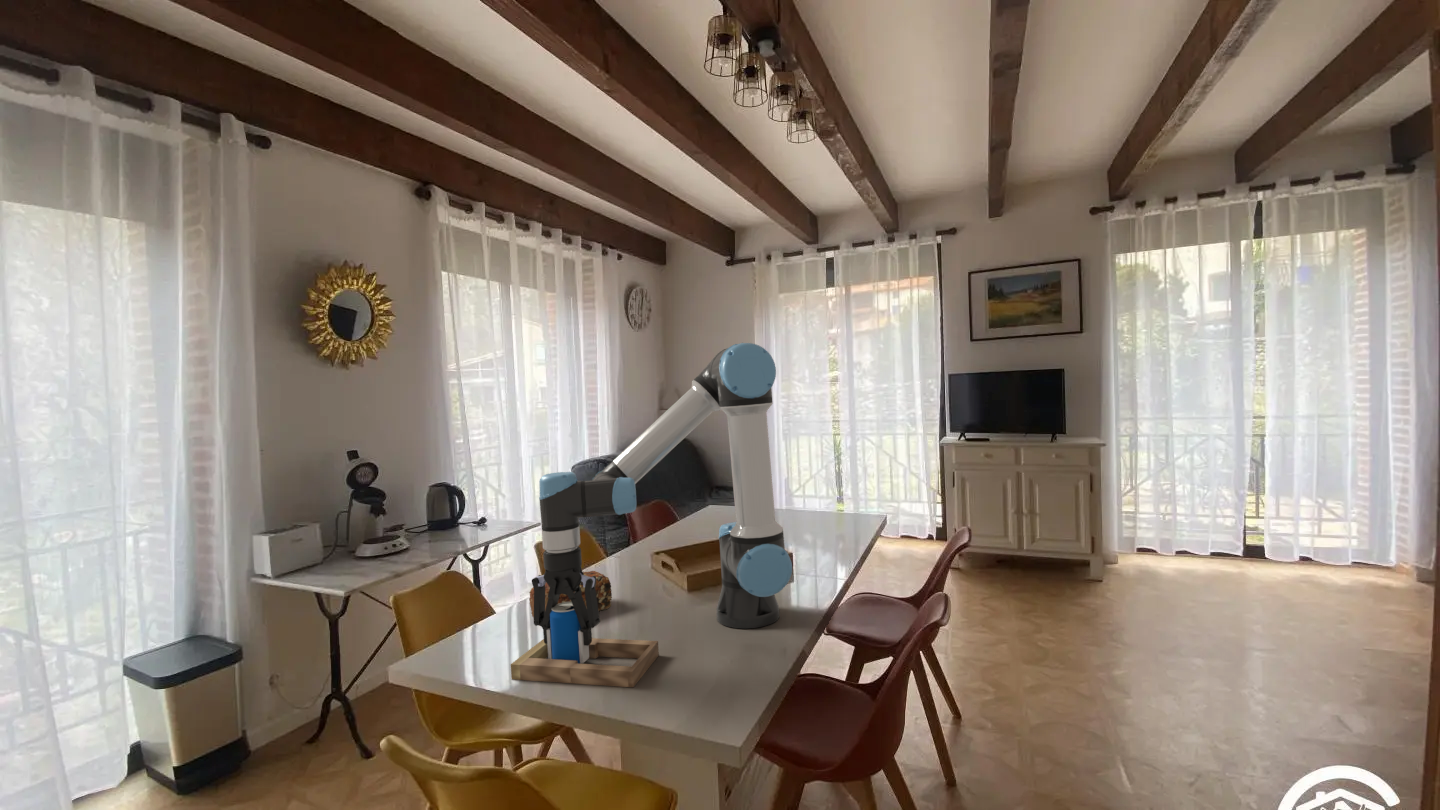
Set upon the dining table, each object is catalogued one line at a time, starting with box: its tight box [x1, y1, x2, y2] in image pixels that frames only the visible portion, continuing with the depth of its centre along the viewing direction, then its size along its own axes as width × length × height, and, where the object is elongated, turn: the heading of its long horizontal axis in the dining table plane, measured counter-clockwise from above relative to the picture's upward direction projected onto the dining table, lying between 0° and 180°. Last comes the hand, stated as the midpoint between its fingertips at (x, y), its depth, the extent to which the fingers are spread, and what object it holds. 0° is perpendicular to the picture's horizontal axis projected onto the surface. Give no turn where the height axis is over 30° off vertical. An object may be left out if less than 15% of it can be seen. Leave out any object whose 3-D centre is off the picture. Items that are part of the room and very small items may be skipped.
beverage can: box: [550, 602, 582, 664], centre depth 125 cm, size 6×6×12 cm
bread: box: [528, 570, 613, 619], centre depth 156 cm, size 19×11×10 cm, turn 129°
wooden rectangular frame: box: [510, 637, 660, 688], centre depth 124 cm, size 26×14×3 cm, turn 76°
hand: (569, 659), depth 125 cm, fingers closed on beverage can, 6 cm apart
